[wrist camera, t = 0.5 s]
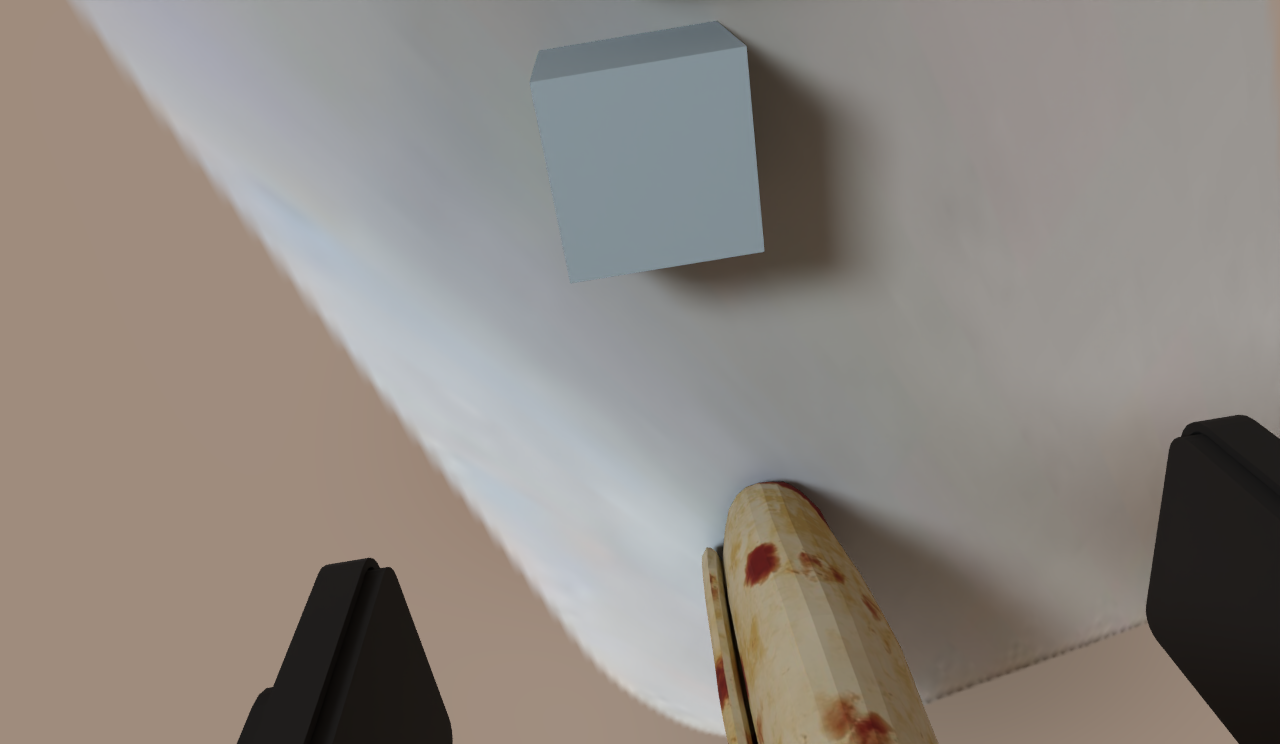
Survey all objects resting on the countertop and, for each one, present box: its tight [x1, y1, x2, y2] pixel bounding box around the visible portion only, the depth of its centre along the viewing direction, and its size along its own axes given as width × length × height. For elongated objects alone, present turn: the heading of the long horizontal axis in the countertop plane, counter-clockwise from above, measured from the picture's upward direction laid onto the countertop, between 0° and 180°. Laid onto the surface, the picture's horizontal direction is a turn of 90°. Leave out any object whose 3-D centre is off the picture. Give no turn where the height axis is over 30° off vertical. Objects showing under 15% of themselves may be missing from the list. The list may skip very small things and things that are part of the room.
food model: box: [702, 482, 938, 744], centre depth 31 cm, size 10×7×20 cm
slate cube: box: [530, 21, 764, 283], centre depth 28 cm, size 6×6×6 cm
